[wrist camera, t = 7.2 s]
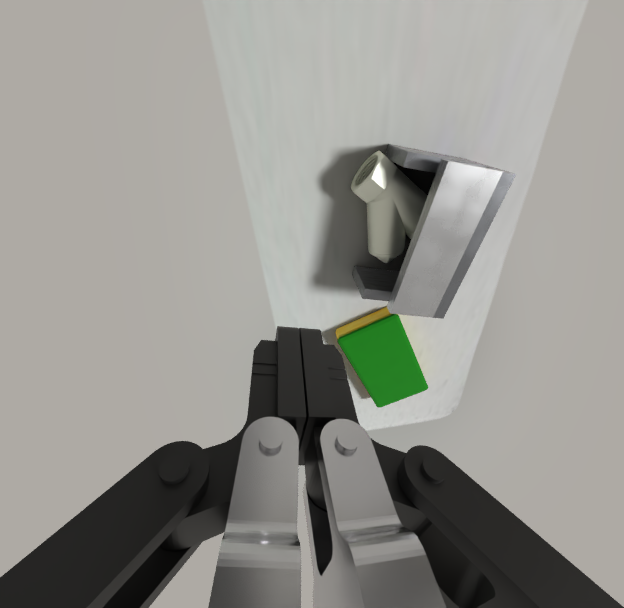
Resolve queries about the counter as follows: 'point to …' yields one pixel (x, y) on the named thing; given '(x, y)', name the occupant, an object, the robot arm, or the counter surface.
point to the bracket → (438, 234)
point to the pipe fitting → (388, 205)
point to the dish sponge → (382, 357)
